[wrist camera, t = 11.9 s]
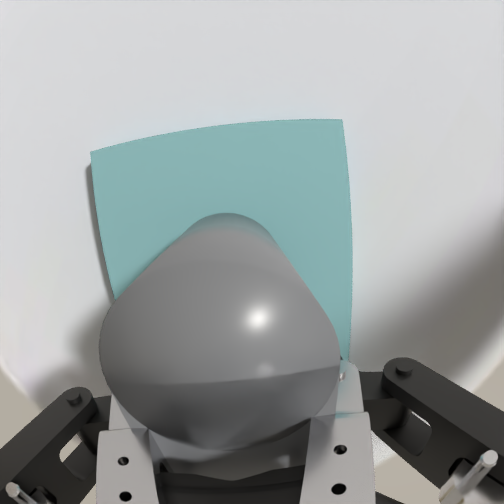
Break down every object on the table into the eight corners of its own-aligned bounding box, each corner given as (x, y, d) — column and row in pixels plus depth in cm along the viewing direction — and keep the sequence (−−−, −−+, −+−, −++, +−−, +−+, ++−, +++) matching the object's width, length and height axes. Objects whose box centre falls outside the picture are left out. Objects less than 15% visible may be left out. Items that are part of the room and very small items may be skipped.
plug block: (275, 206, 11) (343, 243, 4) (289, 424, 14) (313, 526, 7) (165, 220, 11) (68, 275, 4) (214, 432, 14) (210, 535, 7)
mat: (336, 122, 12) (342, 119, 11) (338, 410, 16) (341, 417, 16) (97, 153, 12) (90, 151, 11) (168, 428, 16) (166, 435, 15)
